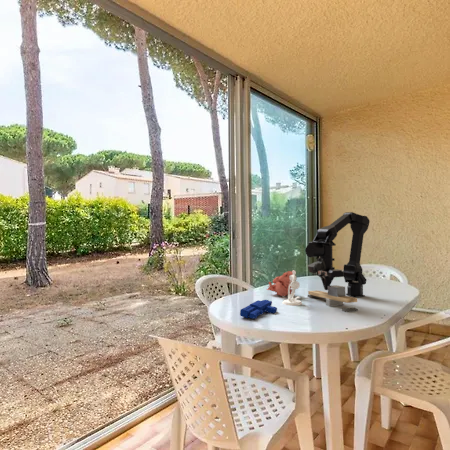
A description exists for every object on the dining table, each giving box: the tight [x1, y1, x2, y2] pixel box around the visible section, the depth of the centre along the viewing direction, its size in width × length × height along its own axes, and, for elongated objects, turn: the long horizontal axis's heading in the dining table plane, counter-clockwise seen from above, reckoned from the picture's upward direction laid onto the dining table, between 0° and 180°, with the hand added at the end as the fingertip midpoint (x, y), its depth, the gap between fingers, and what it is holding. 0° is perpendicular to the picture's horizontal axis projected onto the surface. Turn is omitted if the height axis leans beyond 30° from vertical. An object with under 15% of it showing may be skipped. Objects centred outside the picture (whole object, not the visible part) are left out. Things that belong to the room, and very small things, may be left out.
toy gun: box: [239, 299, 278, 320], centre depth 138 cm, size 4×22×10 cm
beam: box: [307, 290, 358, 304], centre depth 152 cm, size 5×30×2 cm, turn 17°
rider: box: [327, 285, 347, 297], centre depth 148 cm, size 4×7×4 cm, turn 17°
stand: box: [307, 294, 359, 313], centre depth 152 cm, size 7×29×2 cm, turn 17°
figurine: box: [282, 269, 303, 307], centre depth 154 cm, size 9×9×15 cm
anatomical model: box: [266, 270, 297, 297], centre depth 170 cm, size 10×12×15 cm
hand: (326, 289), depth 156 cm, fingers closed
